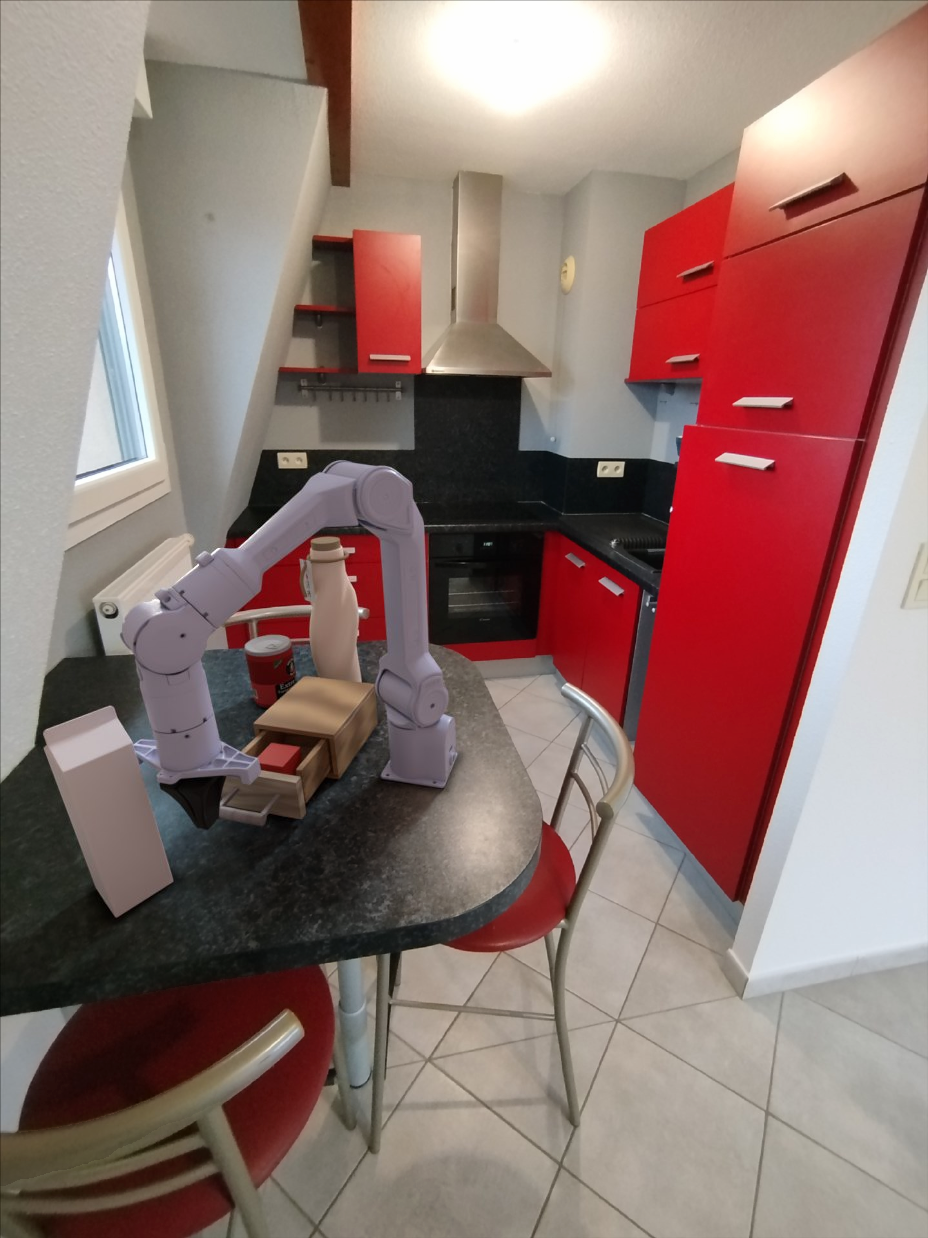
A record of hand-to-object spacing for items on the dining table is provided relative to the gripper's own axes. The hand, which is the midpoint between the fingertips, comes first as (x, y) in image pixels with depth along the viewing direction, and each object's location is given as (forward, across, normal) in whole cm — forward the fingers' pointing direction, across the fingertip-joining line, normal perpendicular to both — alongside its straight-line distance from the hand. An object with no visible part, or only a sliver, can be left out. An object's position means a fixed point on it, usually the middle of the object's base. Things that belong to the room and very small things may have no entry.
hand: (208, 822), depth 59 cm
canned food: (+7, -15, +36) cm, 40 cm away
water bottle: (+7, -6, +43) cm, 44 cm away
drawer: (+6, 0, +13) cm, 14 cm away
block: (+5, 0, +14) cm, 14 cm away
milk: (+7, -8, -4) cm, 12 cm away
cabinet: (+7, 0, +25) cm, 26 cm away
